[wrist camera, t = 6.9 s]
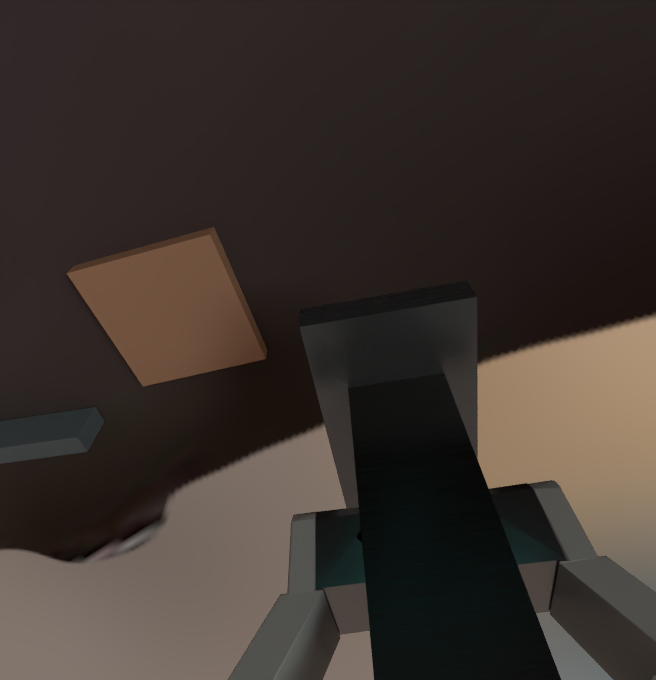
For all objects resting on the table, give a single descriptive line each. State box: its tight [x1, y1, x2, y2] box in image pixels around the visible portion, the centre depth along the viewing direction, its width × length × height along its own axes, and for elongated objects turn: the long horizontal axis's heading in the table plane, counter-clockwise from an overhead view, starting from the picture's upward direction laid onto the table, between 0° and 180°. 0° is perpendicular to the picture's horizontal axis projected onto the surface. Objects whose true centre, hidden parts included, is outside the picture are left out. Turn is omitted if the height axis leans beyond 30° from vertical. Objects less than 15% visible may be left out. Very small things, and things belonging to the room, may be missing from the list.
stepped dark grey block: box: [299, 281, 561, 680], centre depth 9 cm, size 4×7×8 cm, turn 10°
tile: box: [67, 227, 267, 386], centre depth 19 cm, size 6×6×1 cm
